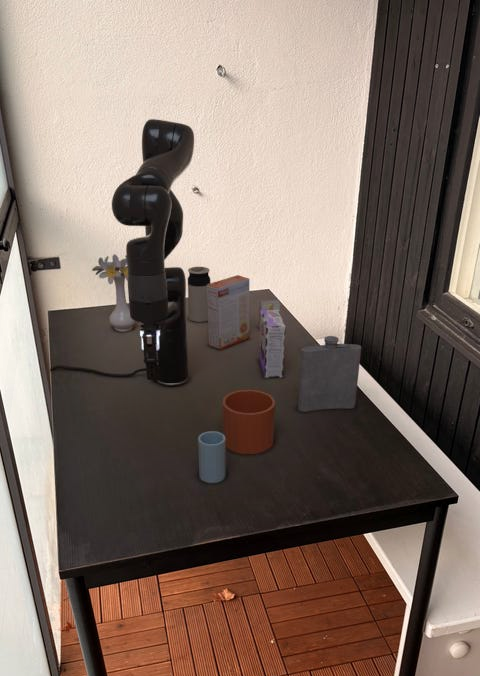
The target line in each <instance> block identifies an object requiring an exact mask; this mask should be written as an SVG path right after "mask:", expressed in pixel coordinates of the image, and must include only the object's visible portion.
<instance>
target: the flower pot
mask: <svg viewBox="0 0 480 676" xmlns="http://www.w3.org/2000/svg"><path fill="white" fill-rule="evenodd" d="M221 402H222V406H221V407H222V434H223V435H224V436H225V438H226V449H228V450H229V451H231V452H234V453H236V454H241V455H255V454H260V453H264V452H266V451H268V450H269V449H270V448H272V446H273V445H274V440H275V422H276V420H275V419H276V400H275V398H274V397H273V396H272V395H271V394H269V393H267V392H265V391H261V390H256V389H240V390H235V391H232V392H229V393H227V395H225V396H224V397H223V398H222V401H221Z"/></svg>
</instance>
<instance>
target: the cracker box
mask: <svg viewBox="0 0 480 676" xmlns="http://www.w3.org/2000/svg"><path fill="white" fill-rule="evenodd" d="M207 312H208V321H207V337H208V346H209V347H212V348H215V349H216V350H223V349H226V348H227V347H230V346H234V345H235V344H238V343H240V342H243V341H246V340H249V339H250V278H249V277H245V276H243V275H239V274H237V275H233V276H230V277H227V278H223V279H220V280H216V281H213V282H210V284H207Z"/></svg>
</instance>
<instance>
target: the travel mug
mask: <svg viewBox="0 0 480 676" xmlns="http://www.w3.org/2000/svg"><path fill="white" fill-rule="evenodd" d="M187 272H188V274H189V275H188V277H187V299H188V301H187V303H188V304H187V305H188V319H189V321H191V322H194V323H195V322H196V323H205V322H208V312H207V284H210V283H211V277H210V275H209V272H210V268H209V267H206V266H191V267H189V268H188V269H187Z"/></svg>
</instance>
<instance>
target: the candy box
mask: <svg viewBox="0 0 480 676" xmlns="http://www.w3.org/2000/svg"><path fill="white" fill-rule="evenodd" d="M285 343H286V324H285V322H284V319H283V317H282V315H281V311H280V312H279V310H261V317H260V329H259V362H260V367H261V370H262V374H263V378H267V379H272V378H273V379H274V378H275V379H278V378H280V379H281V378H283V376H284V360H285Z"/></svg>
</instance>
